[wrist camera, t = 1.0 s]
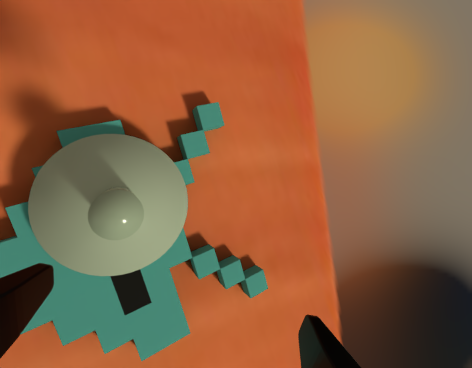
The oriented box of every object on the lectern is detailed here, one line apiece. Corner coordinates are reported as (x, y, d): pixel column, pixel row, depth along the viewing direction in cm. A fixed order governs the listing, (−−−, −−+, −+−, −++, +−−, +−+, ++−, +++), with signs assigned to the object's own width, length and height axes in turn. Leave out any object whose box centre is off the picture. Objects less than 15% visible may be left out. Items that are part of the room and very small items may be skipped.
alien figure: (210, 108, 25) (-46, 155, 17) (218, 102, 23) (-67, 152, 15) (257, 280, 28) (57, 390, 20) (268, 288, 26) (50, 413, 18)
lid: (65, 296, 18) (37, 358, 12) (6, 155, 17) (-63, 141, 10) (200, 238, 23) (230, 261, 16) (163, 123, 21) (181, 99, 15)
